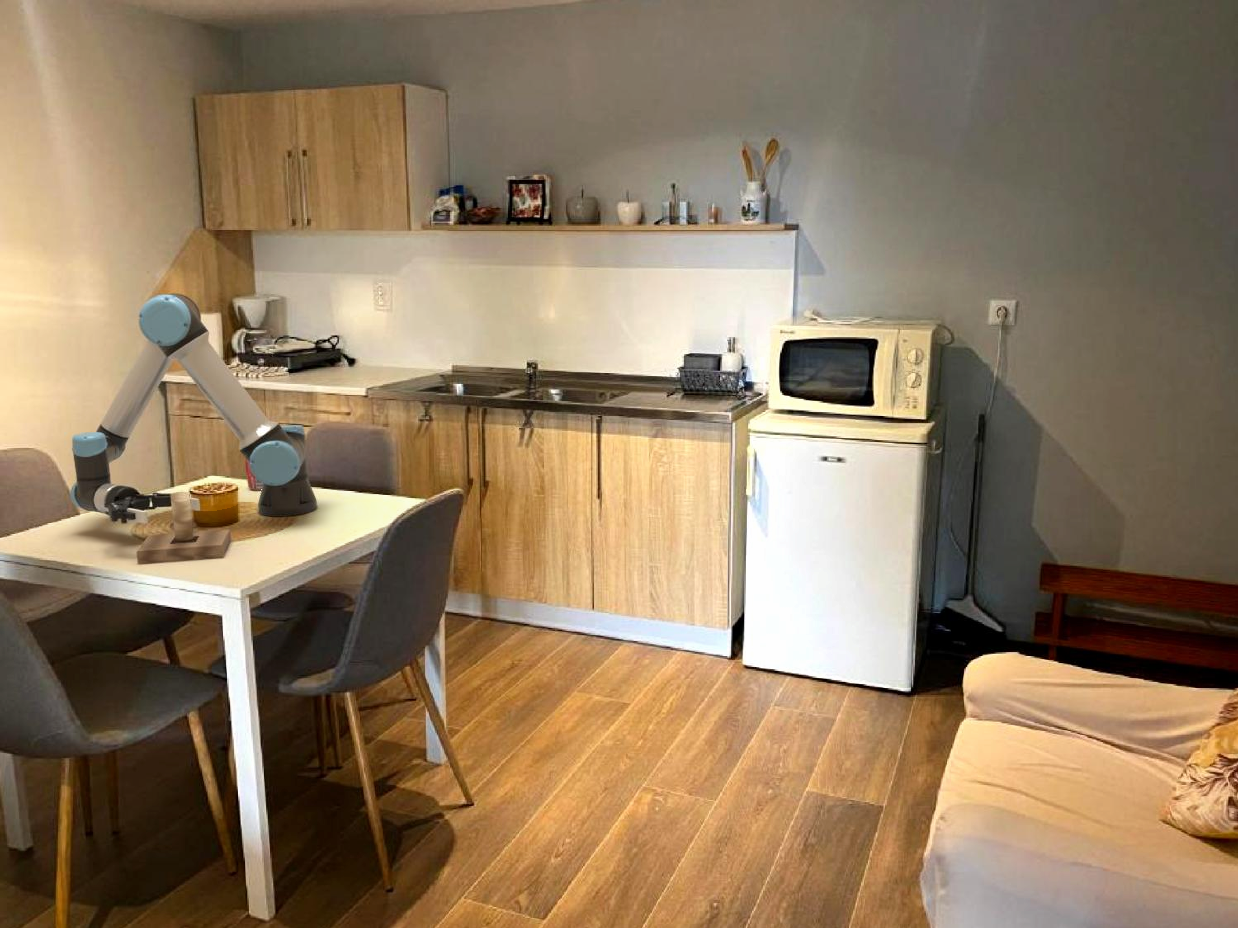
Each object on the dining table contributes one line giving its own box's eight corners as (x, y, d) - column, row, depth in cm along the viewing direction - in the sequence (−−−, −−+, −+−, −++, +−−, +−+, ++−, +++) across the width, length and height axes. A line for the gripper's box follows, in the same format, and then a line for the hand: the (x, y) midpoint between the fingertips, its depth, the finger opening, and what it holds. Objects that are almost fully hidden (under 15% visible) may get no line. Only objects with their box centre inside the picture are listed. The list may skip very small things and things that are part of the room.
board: (231, 541, 249) (229, 529, 248) (222, 557, 235) (221, 544, 235) (150, 547, 245) (149, 535, 244) (137, 564, 232) (136, 551, 231)
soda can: (266, 484, 310) (263, 445, 308) (277, 488, 305) (274, 448, 303) (243, 488, 305) (240, 449, 303) (254, 492, 300) (251, 452, 298)
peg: (196, 549, 243) (190, 491, 240) (193, 554, 239) (187, 495, 236) (178, 550, 242) (172, 492, 239) (174, 555, 238) (168, 496, 235)
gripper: (166, 504, 262) (220, 515, 251) (70, 527, 241) (124, 539, 230) (163, 476, 260) (217, 484, 249) (66, 496, 240) (120, 506, 229)
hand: (172, 511), depth 240 cm, fingers open, 13 cm apart
